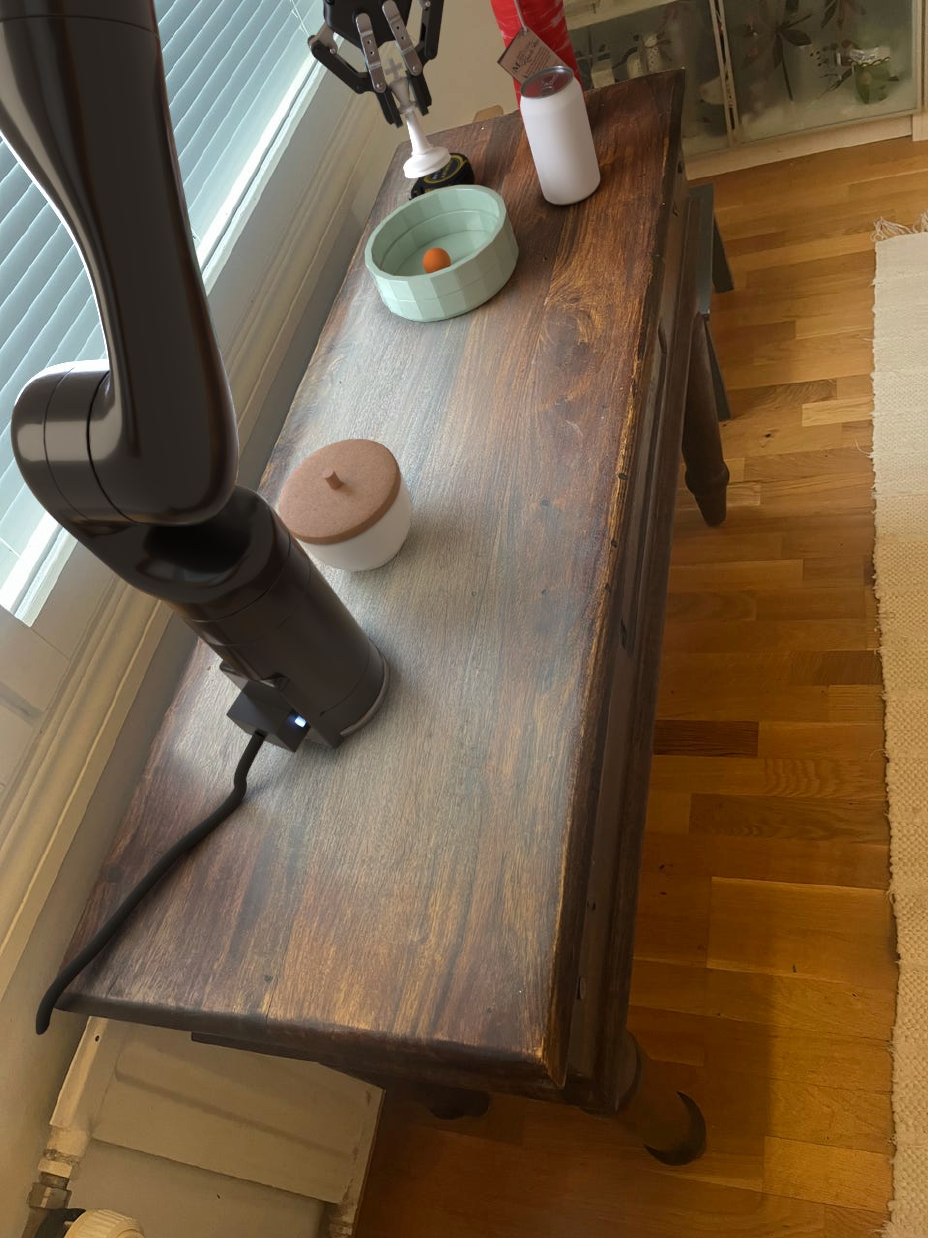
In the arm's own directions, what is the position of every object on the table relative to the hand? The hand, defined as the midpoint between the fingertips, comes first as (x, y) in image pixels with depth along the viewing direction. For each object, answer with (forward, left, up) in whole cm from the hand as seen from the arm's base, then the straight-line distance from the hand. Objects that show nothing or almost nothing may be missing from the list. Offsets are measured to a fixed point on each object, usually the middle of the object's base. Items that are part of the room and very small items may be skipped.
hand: (411, 116), depth 90 cm
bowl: (-3, 0, -16) cm, 16 cm away
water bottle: (+21, -2, -16) cm, 27 cm away
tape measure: (+10, +8, -16) cm, 21 cm away
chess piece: (-1, 0, -5) cm, 5 cm away
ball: (-3, +1, -14) cm, 14 cm away
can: (+12, -8, -16) cm, 22 cm away
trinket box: (-38, -11, -16) cm, 43 cm away
